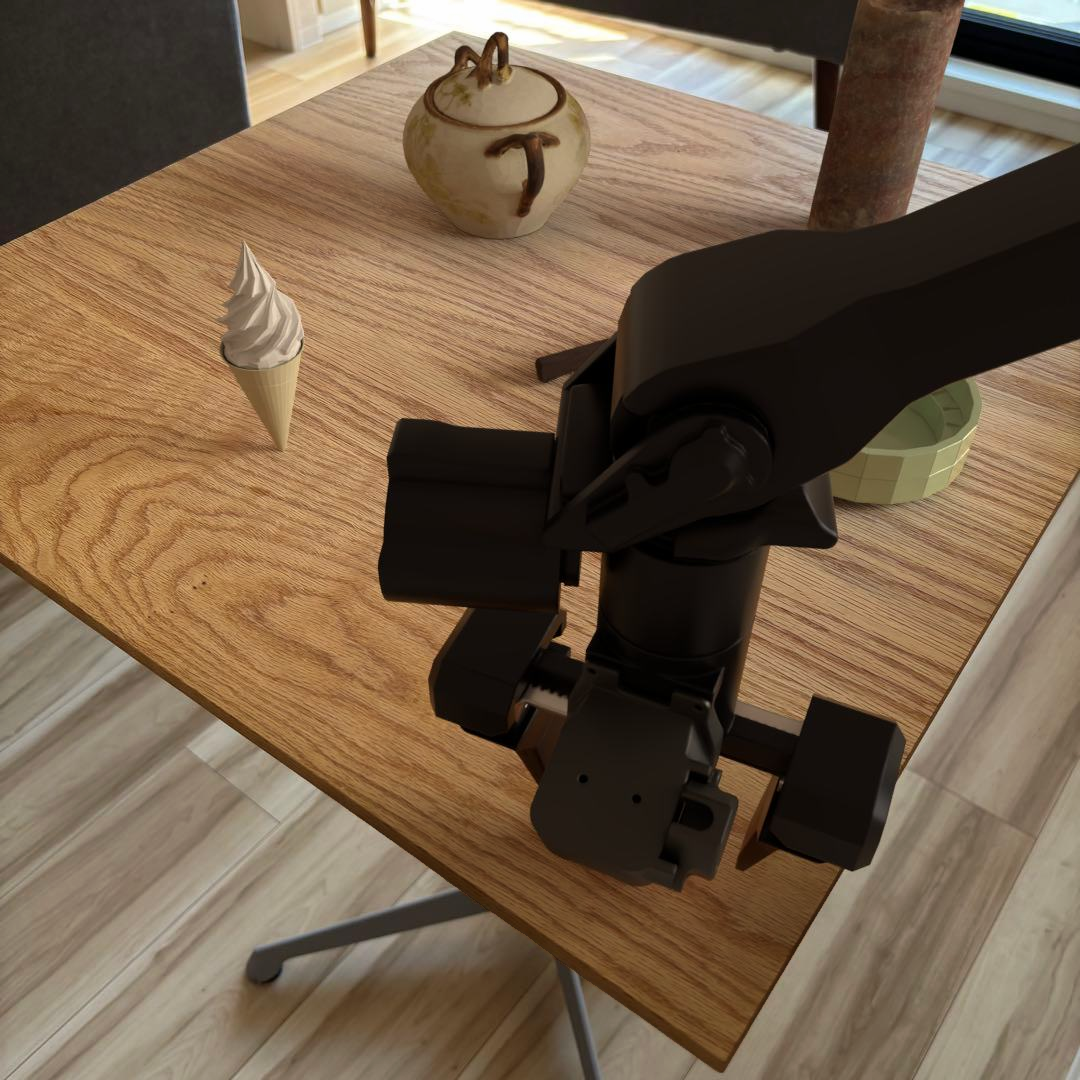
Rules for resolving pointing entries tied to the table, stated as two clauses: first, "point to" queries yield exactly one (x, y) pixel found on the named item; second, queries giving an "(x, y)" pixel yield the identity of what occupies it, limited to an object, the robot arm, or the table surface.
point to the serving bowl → (914, 449)
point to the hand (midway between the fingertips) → (645, 825)
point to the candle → (883, 111)
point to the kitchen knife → (564, 361)
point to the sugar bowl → (496, 143)
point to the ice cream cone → (263, 344)
